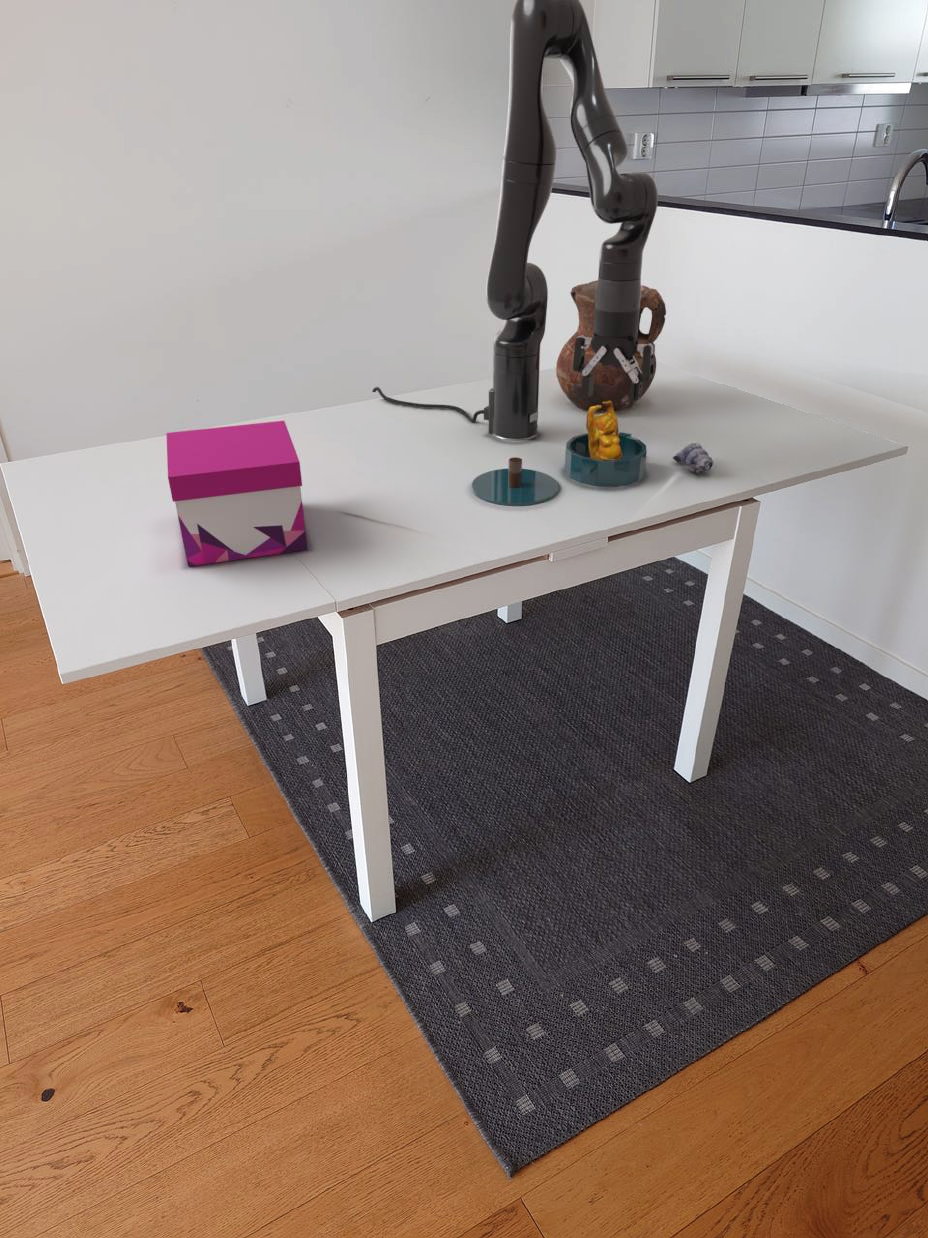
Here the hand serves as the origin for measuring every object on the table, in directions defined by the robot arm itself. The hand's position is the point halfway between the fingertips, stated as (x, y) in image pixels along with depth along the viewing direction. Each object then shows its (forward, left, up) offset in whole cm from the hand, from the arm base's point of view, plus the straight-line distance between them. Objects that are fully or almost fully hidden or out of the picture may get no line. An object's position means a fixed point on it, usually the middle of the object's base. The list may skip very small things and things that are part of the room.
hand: (610, 399), depth 158 cm
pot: (0, 0, -14) cm, 14 cm away
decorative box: (-42, -52, -14) cm, 68 cm away
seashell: (+14, +10, -15) cm, 22 cm away
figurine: (0, 0, -14) cm, 14 cm away
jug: (-16, +38, -15) cm, 44 cm away
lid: (-11, -15, -14) cm, 23 cm away
